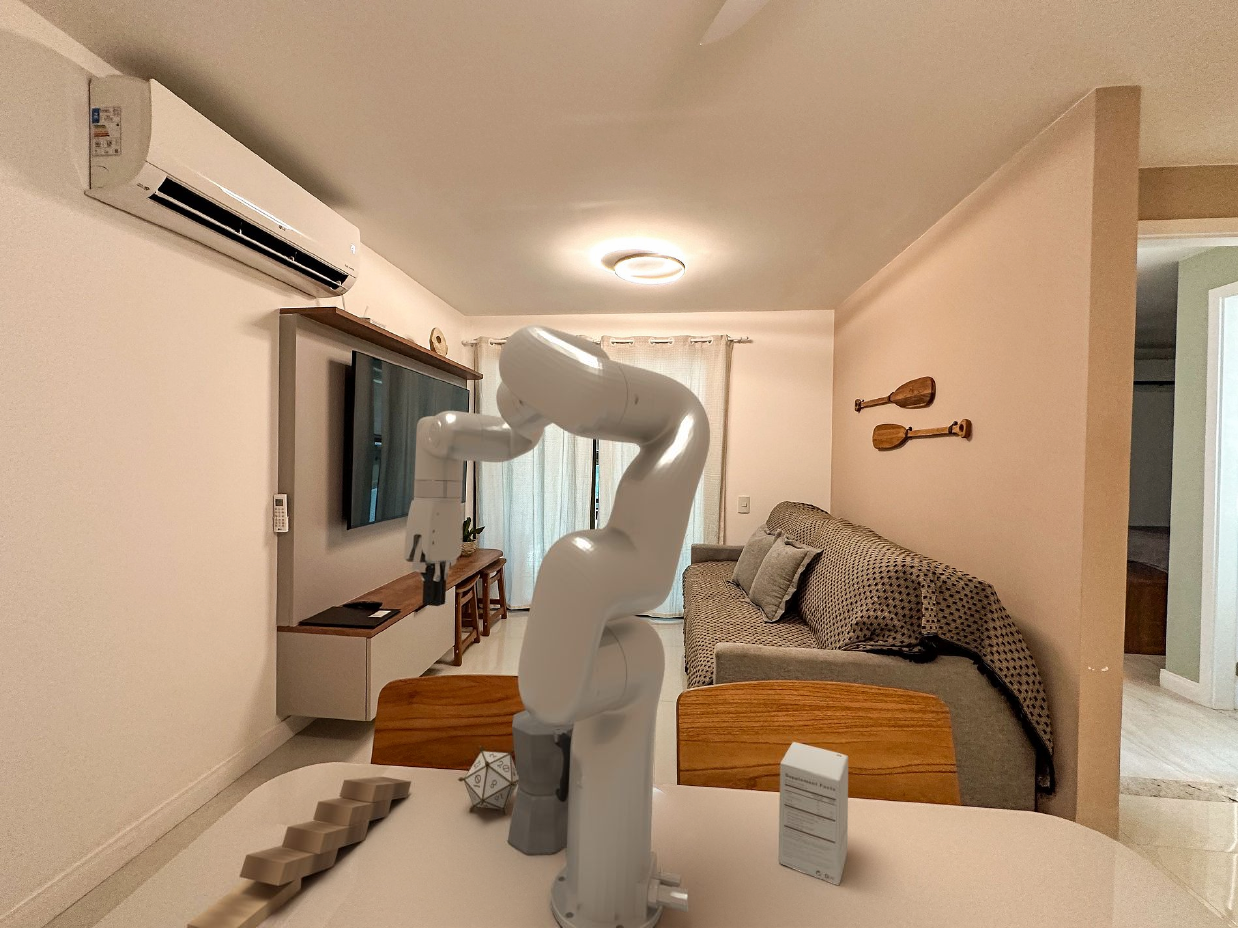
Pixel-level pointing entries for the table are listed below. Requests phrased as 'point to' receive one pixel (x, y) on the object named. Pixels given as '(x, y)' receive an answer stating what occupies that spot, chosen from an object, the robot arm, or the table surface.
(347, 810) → the domino
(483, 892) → the table surface
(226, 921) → the domino
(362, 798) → the domino
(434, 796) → the table surface
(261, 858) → the domino
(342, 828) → the domino
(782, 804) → the supplement box
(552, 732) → the coffeepot
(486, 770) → the game die
